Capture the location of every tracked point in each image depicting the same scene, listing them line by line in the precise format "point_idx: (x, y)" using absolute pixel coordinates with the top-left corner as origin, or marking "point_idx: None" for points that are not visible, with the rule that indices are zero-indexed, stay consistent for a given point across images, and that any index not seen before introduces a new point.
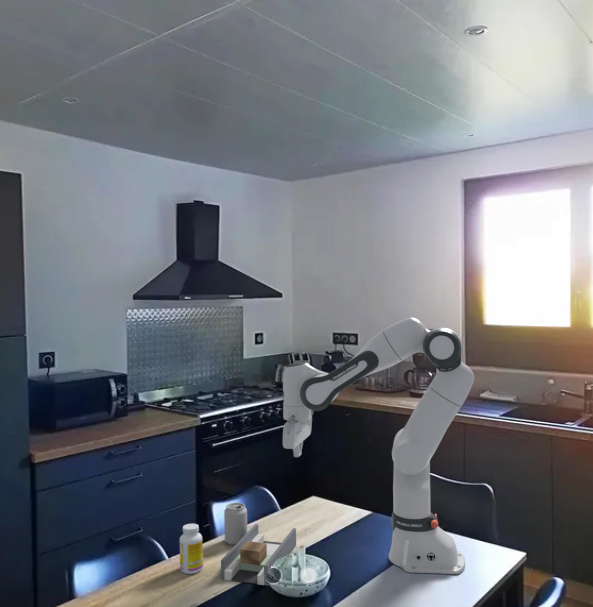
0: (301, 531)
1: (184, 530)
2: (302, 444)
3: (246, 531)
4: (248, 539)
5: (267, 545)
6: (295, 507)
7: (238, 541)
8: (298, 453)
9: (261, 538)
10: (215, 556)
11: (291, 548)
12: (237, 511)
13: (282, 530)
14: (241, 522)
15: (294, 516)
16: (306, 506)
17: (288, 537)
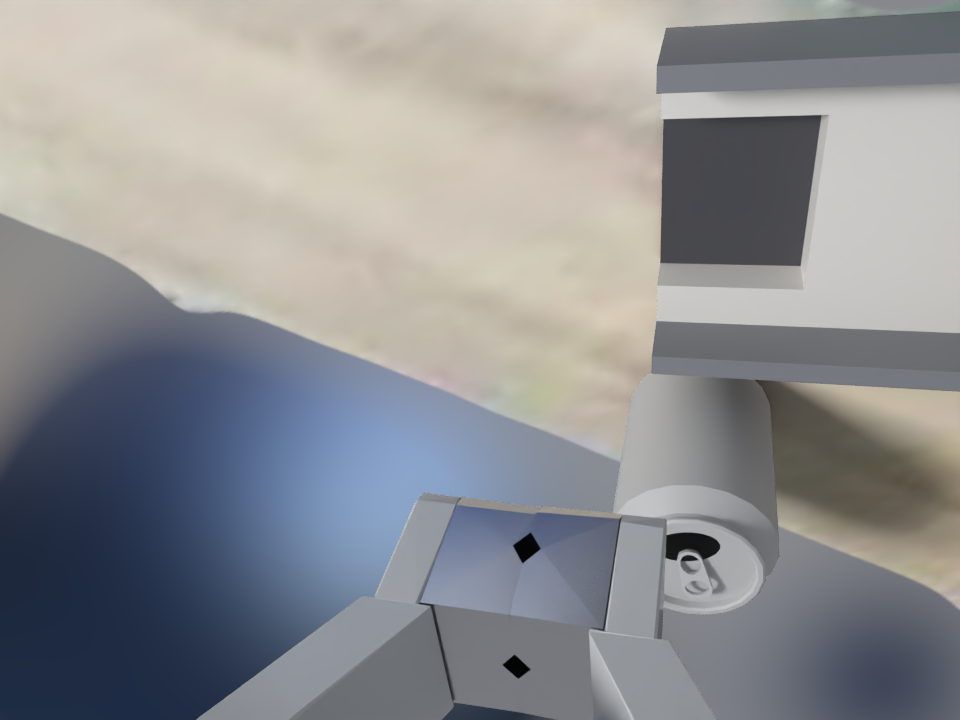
0: (416, 77)
1: None
2: (241, 704)
3: (700, 392)
4: (855, 347)
5: (854, 207)
6: (105, 238)
7: (762, 393)
8: (657, 597)
9: (710, 282)
10: (930, 446)
11: (799, 27)
12: (756, 537)
13: (452, 206)
14: (748, 458)
15: (222, 203)
16: (50, 180)
17: (880, 61)
